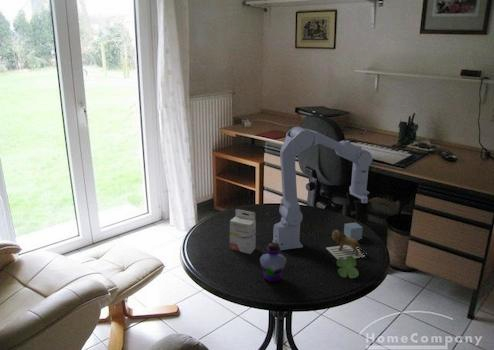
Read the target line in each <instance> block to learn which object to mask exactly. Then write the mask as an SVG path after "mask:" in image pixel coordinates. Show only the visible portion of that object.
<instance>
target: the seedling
mask: <svg viewBox="0 0 494 350" xmlns="http://www.w3.org/2000/svg"><path fill="white" fill-rule="evenodd" d="M336 266H338V267H339V268H338V269H337V274H338V275H339V276H340V277H342V278H347V277H349V278H350V279H355V278H357V277H358V276H359V274H360V273H359V270H358V269H357V268H356V266H357V260H356V258H354V257H352V256H348V257H347V258H346V259H344V258H342V257H341V258H338V260H337V259H336Z"/></svg>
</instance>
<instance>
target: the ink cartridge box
mask: <svg viewBox="0 0 494 350" xmlns="http://www.w3.org/2000/svg"><path fill="white" fill-rule="evenodd" d="M234 211H235V216H234V217H233V218H231V219H230V220H229V250H232V251H236V252H241V253H244V254H249V255H251V254H252V253H253V252H254V250H255V249H256V240H257V239H256V238H257V237H256V233H257V230H256V226H257V225H256V223H257V220H256V212H254V211H249V210H243V209H238V208H235V210H234ZM246 214H247V215H246Z"/></svg>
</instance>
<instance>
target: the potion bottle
mask: <svg viewBox="0 0 494 350" xmlns="http://www.w3.org/2000/svg"><path fill="white" fill-rule="evenodd" d="M265 252H266V253H264V254H262V255H261V256H260V258H259V262H260V267H261V269H262V271H263V276H264V277H263V278H264V281H266V283H272V284H275V283H279V282H280V281H281V280H282V276H283V272H284V268H285V266H286V263H287V261H288V259H287V257H285V256H284V255H283V254H281V250H280V247H279V244H278V243H273V242H269V243H268V245H267V246H266V251H265Z"/></svg>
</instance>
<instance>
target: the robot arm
mask: <svg viewBox="0 0 494 350" xmlns="http://www.w3.org/2000/svg"><path fill="white" fill-rule="evenodd" d="M316 145H321V146H325V147H326V148H330V149H331V150H334V153H335V154H336V155H337V156H338V157H341V158H343V159H346V160H348V161H351V162H352V170H351V184H350V185H349V187H348V188H349V190H348V191H349V192H346V193H345V195H346V197H347V200H348V204H349V205H348V206H349V211H350V212H356V213H355V214H356V219H357V220H361V219H362V220H363V219H364V217H365V214H366V211H367V209H368V208H369V206H370V205H371V202H370V201H369V200H368V199H369V197H368V195H369V194H370V191H368V190H367V187H368V179H369V176H368V175H369V168H370V165H371V163H372V162H373V159H374V158H373V156H372V154H371V152H370V151H368V150H366V149H365V148H362V146H360V145H355V144H353V143H352V141H350V140H348V139H346V140H341V141H338V140H335V139H333V138H331V137H328V136H326V135H324V134H323V133H320V132H319V131H315V130H312V129H309V128H303V127H302V126H299V125H298V126H294V127H291V129H290V130H288V131H287V132H286V135H285V139H284V141H283V144H282V146H281V147H280V150H279V156H280V172H281V173H280V174H281V187H282V188H281V190H282V192H281V193H282V198H281V199H280V206H279V208H278V211H279V214H280V216H281V218H280V221H279V222H277V223H275V224H274V225H273V231H272V232H273V233H272V234H273V235H272V236H273V239H272V243H278V244H279V247H280V251H283V250H284V251H286V250H292V249H301V248H304V245H303V244H302V243H301V242H300V232H301V223H302V221H303V216H304V215H303V212H301V211H302V210H301V207H300V202H299V199H298V193H297V192H298V191H297V189H298V188H297V172H296V169H297V167H296V157H297V156H298V155H299V154H300V153H301V152H303V151H305V150H307V149H309V148H310V147H312V146H316Z"/></svg>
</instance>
